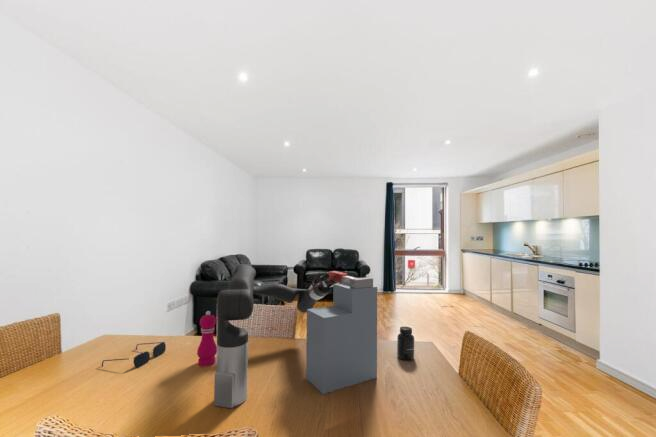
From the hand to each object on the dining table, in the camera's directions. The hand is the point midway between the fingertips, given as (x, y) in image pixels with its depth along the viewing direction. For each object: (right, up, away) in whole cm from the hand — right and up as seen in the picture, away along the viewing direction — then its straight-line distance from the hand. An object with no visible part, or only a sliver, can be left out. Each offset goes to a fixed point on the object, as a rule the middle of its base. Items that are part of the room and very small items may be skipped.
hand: (337, 274), depth 122 cm
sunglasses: (-81, -34, 0) cm, 88 cm away
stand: (+1, -34, -14) cm, 37 cm away
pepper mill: (-51, -34, -3) cm, 61 cm away
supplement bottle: (+28, -35, +4) cm, 45 cm away
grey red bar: (+4, -2, -6) cm, 7 cm away
